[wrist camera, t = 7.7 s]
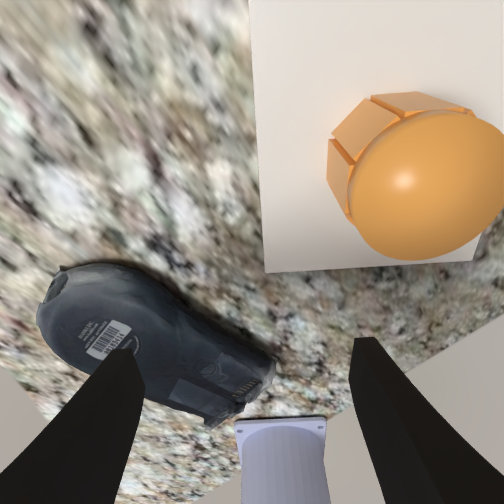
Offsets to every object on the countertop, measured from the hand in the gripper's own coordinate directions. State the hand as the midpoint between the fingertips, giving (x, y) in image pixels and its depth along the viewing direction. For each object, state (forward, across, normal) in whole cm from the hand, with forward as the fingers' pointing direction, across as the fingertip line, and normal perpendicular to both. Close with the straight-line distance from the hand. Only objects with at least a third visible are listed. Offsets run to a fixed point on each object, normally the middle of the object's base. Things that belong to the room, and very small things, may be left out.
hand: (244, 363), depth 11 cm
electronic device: (+10, +7, +8) cm, 14 cm away
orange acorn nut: (+7, -6, -4) cm, 11 cm away
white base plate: (+9, -6, -4) cm, 12 cm away
